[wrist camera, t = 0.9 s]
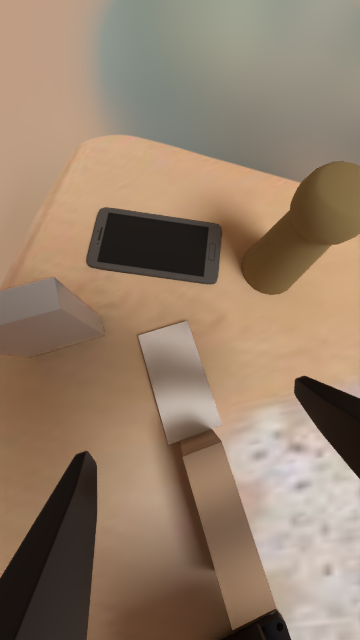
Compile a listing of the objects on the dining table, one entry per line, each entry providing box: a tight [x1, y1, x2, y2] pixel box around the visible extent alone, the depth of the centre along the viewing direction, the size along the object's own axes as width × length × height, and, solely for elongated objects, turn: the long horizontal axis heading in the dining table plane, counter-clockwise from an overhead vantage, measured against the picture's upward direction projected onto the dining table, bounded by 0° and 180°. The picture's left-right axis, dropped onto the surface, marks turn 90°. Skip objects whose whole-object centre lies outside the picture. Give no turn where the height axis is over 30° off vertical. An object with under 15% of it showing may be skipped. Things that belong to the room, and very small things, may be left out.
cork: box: [242, 161, 360, 295], centre depth 18 cm, size 6×6×11 cm
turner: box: [138, 321, 276, 630], centre depth 17 cm, size 20×5×4 cm, turn 18°
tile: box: [0, 277, 105, 357], centre depth 16 cm, size 2×7×9 cm, turn 108°
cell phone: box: [87, 207, 222, 284], centre depth 23 cm, size 7×14×1 cm, turn 83°
